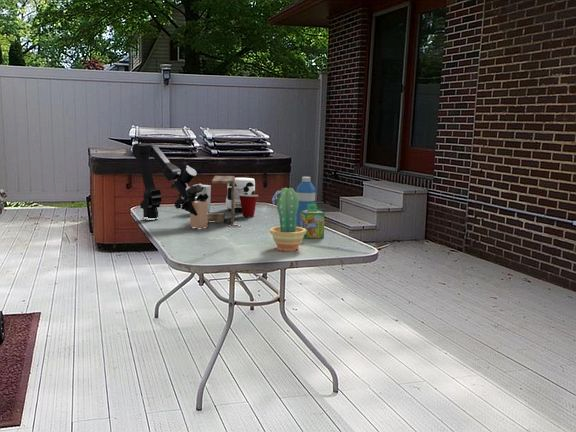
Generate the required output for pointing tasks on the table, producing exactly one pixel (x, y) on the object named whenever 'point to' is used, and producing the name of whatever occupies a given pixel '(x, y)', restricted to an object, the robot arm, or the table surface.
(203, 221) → the terracotta box
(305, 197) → the water bottle
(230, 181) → the shelf
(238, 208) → the milk container
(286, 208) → the potted cactus
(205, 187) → the skincare box
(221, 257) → the table surface
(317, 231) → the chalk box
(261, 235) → the table surface
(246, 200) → the plastic cup
